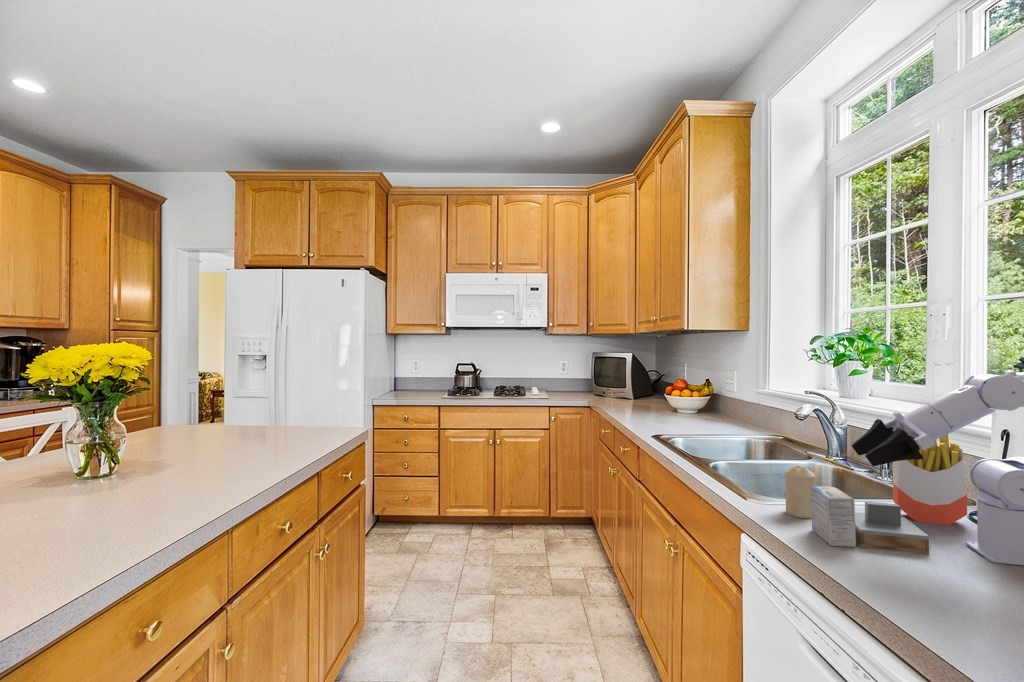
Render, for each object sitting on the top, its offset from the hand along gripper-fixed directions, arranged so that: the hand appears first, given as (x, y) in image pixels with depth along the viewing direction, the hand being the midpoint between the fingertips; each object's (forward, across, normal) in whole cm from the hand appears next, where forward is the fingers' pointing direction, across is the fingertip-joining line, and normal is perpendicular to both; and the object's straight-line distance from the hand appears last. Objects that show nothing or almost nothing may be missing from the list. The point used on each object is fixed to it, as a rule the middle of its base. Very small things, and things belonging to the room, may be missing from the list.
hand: (861, 455), depth 90 cm
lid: (+4, -1, +13) cm, 13 cm away
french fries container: (-5, -16, +22) cm, 28 cm away
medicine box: (+13, +2, +10) cm, 17 cm away
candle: (+15, -11, +9) cm, 21 cm away
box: (+6, 0, +15) cm, 16 cm away
